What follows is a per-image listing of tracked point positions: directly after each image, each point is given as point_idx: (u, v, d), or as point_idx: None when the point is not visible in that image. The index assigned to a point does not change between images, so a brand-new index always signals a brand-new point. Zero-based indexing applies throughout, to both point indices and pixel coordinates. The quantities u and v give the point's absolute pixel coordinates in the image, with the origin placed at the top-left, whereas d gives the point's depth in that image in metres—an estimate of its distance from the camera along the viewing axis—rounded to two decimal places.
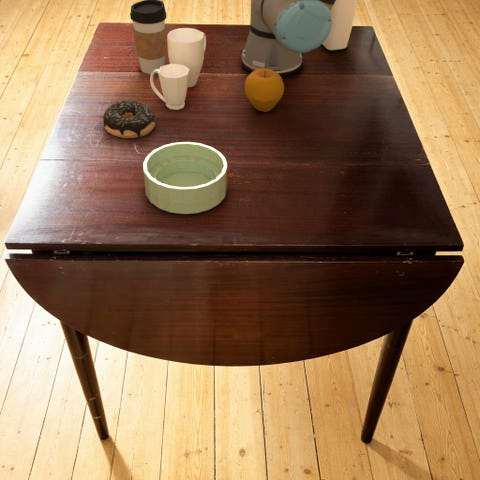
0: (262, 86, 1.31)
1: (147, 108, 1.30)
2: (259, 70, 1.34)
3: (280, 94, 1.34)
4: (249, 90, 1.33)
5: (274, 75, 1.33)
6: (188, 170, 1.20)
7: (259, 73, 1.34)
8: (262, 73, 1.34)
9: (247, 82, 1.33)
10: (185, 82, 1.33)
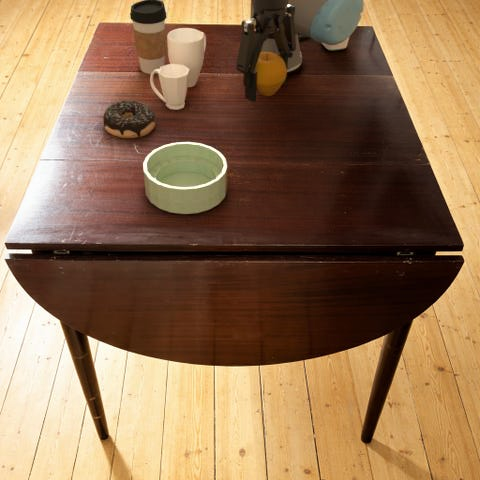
0: (265, 69, 1.29)
1: (147, 108, 1.30)
2: (261, 53, 1.32)
3: (283, 78, 1.32)
4: None
5: (277, 58, 1.31)
6: (188, 170, 1.20)
7: (262, 56, 1.32)
8: (264, 56, 1.32)
9: None
10: (185, 82, 1.33)
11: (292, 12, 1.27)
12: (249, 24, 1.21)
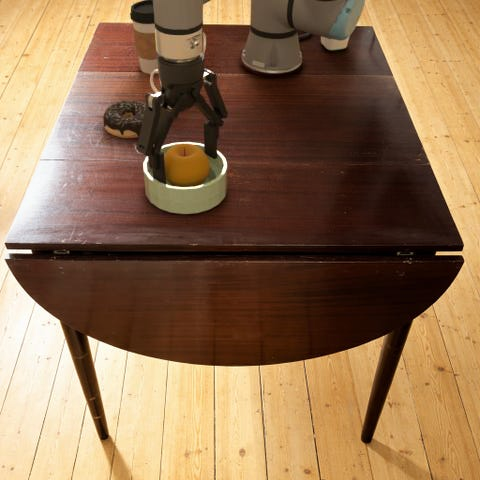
0: (181, 167, 1.09)
1: None
2: (179, 146, 1.11)
3: (204, 175, 1.11)
4: (165, 170, 1.10)
5: (196, 152, 1.10)
6: None
7: (179, 150, 1.11)
8: (182, 149, 1.11)
9: None
10: None
11: (213, 80, 1.04)
12: (154, 98, 0.97)
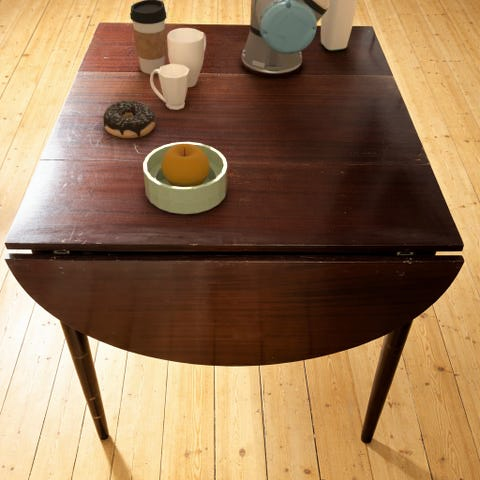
0: (181, 167, 1.09)
1: (147, 108, 1.30)
2: (178, 146, 1.11)
3: (204, 175, 1.11)
4: (165, 170, 1.10)
5: (196, 152, 1.10)
6: None
7: (179, 150, 1.11)
8: (182, 149, 1.11)
9: (163, 161, 1.11)
10: (185, 82, 1.33)
11: None
12: None
